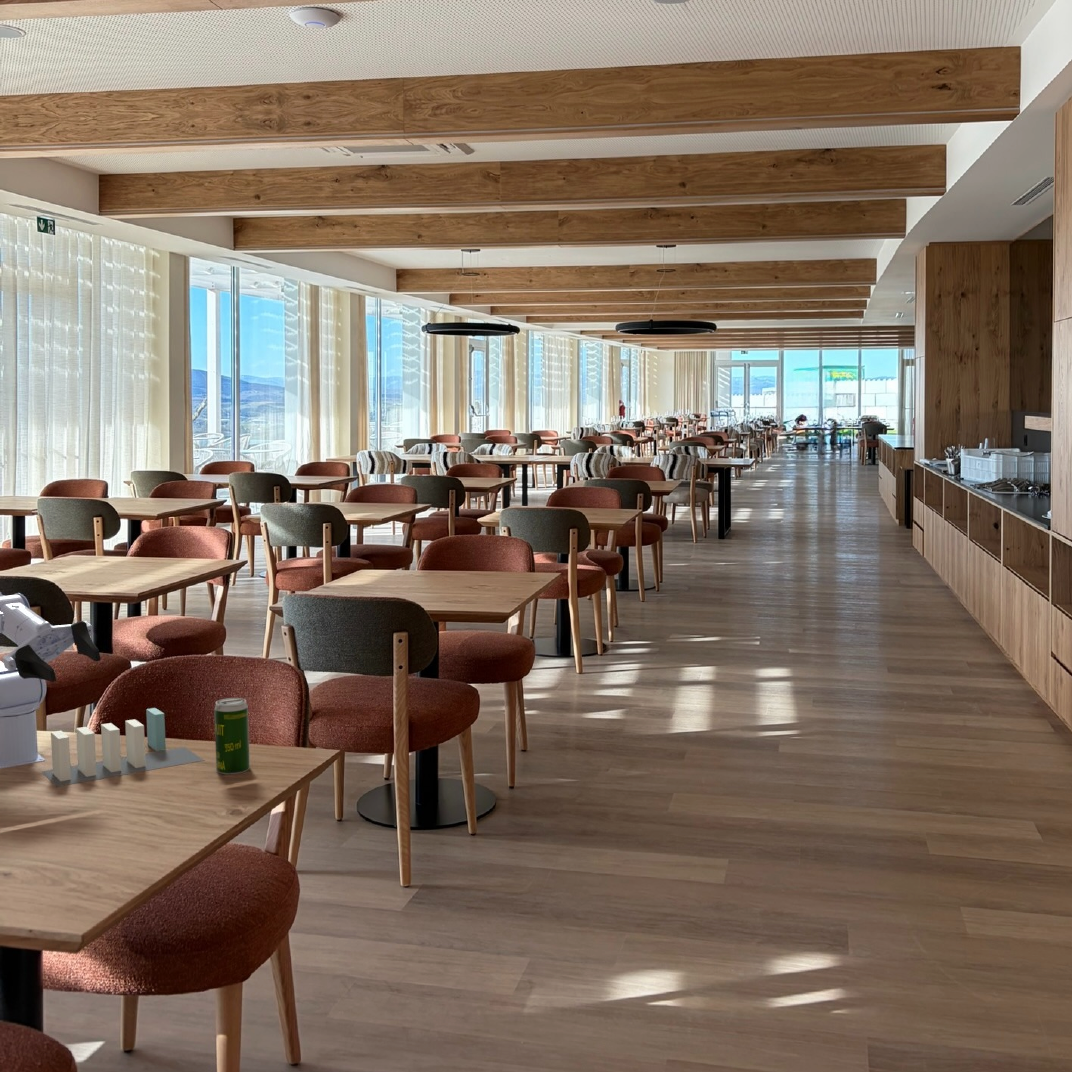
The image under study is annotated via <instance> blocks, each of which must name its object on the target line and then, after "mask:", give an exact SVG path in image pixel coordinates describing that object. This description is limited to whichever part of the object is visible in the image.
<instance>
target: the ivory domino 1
mask: <svg viewBox="0 0 1072 1072" xmlns="http://www.w3.org/2000/svg"><path fill="white" fill-rule="evenodd" d="M50 741H51V762H52V769H53V774H54V775H55V776H56V777H57V778H58V779H59V780H60V781H65V780H71V770H70V766H71V758H70V757H71V753H70V736H68V735H67V734H66V733H65V732H63V730H56V731H50Z"/></svg>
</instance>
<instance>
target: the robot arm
mask: <svg viewBox="0 0 1072 1072" xmlns="http://www.w3.org/2000/svg"><path fill="white" fill-rule="evenodd" d="M0 634H2V635H4V636H6V638H8V639H9V640H11V641H12V643H14V644H16V645H17V647H16V648H15V649H13V650H12V651H11V652H9V653H8V654H6V655H4V656H1V657H2V660H0V769H6V768H10V767H12V768H13V767H17V766H22V765H23V766H24V765H30V764H34V763H35V764H37V763H41V762H46V760H45V758H44V757H43V756H42V755H41V754H40V753H39V751H38V750H39V748H38V731H37V712H36V711H37V710H38V709H40V708H41V707H40V705H41V703H42V702H43V701H44V700H45V698H46V696H47V695H46V694H47V681H48V682H51V683H54V682H56V681H57V675H56V673H55V669H54V668H53V667H52V666H51V665H50V664H48V662H51V661H54V660H55V659H57V658H58V657H59V656H61V654H62V653H64V652H65V651H66V650H67V649H69V648H70V647H72V645H74V646H76V652H77V654H78V655H83V656H86V657H88V658H89V659H90V660H92V661H94V662H95V663H96V662H100V661H101V654H100V650H99V648H98V647H97V646H96V645H95V643H94V642H93V639H92V638H91V637H92V636H94V630H93V625H92V624H90V623H89V622H88V621H87V620H84V621H83V620H79V621H77V622H75V623H72V624H61V625H59V624H58V625H53V624H51V623H50V622H49V621H47V620H45V619H44V618H43V617H42V616H40V615H38V614H37V613H36V612H34V611H33V610H32V609H31V606H30V603H29V601H28V599H27V597H26V596H24V594H22V593H20V592H17V593H16V592H15V593H14V594H10V595H4V594H2V592H1V591H0Z"/></svg>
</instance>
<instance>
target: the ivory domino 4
mask: <svg viewBox="0 0 1072 1072" xmlns="http://www.w3.org/2000/svg"><path fill="white" fill-rule="evenodd" d="M124 721H125V723H124V724H125V744H126V745H125V746H126V757H127V761H128V762H129V763H130V764H131V765H133V766H134V767H135V768H139V767H144V766H146V764H145V754H146V748H145V747H146V741H145V725H144V724H142V723H141V722H140V721H139V720H137V719H136V718H135V719H129V720H128V719H127V720H124Z"/></svg>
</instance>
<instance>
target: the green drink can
mask: <svg viewBox="0 0 1072 1072" xmlns="http://www.w3.org/2000/svg"><path fill="white" fill-rule="evenodd" d="M213 711H214V714H213V715H214V734H215V735H214V738H215V740H214V741H215V766H216V767H215V768H216V769H215V770H216V772H217V773H218V774H221V775H238V774H242V773H243V774H244V773H245V772H248V771H249V770H250V768H251V765H250V763H251V762H250V758H251V757H250V734H249V733H250V732H249V728H250V727H249V706H248V703H247V700H246V698H242V697H241V698H239V697H229V698H228V697H227V698H223V699H222V698H221V699H219V700H216V701H215V707H214V710H213Z"/></svg>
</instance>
